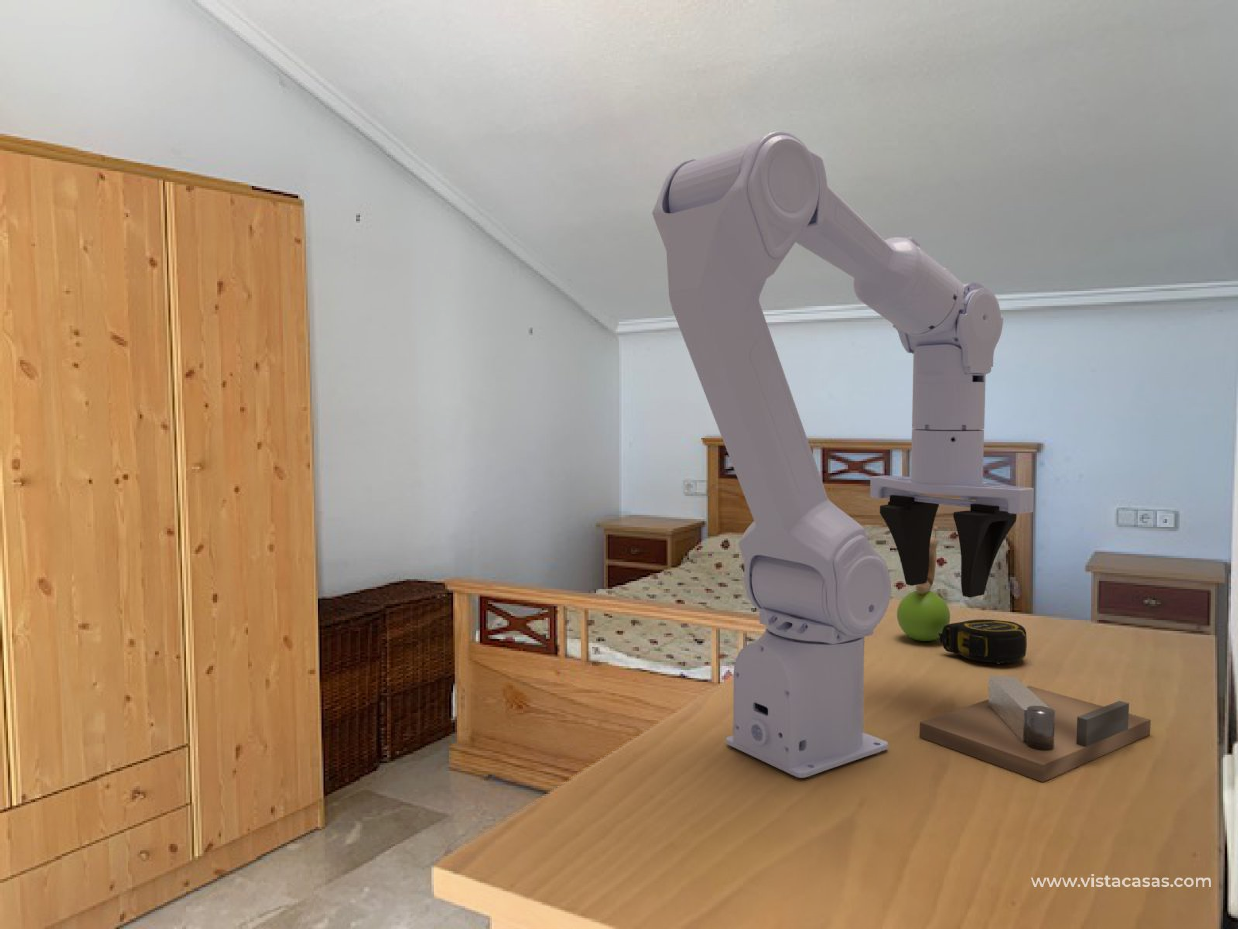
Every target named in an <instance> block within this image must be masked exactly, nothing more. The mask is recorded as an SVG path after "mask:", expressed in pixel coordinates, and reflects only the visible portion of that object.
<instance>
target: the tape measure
mask: <svg viewBox="0 0 1238 929" xmlns="http://www.w3.org/2000/svg"><path fill="white" fill-rule="evenodd" d="M1026 631H1027V630H1026V629H1025V627H1024V626H1022V625H1021V624H1019V623H1017V622H1014V621H1009V620H999V619H998V620H997V619H970V620H965V621H961V622H960V621H959V622H952V623H949V624H948V625H946V626H944V628H943V631H942V634H941V633H939V636H940V637H939V638H938V641H939V643H941V644H942V646H943V649H944V650H945V651H946V652H948V653H953V654H958V655H961V656H963V657H964V658H966V659H969V660H973V661H978V662H983V663H985V662H986V663H994V662H995V664H997V665H999V664H998V663H1002V664H1005V663H1004V662H1006V663H1011V662H1012V663H1014V662H1017V661H1020V660H1022V659H1024V658H1025V657H1026V654H1027V648H1028V642H1027V632H1026Z"/></svg>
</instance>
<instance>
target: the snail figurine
mask: <svg viewBox="0 0 1238 929" xmlns="http://www.w3.org/2000/svg"><path fill="white" fill-rule="evenodd" d="M938 530H939V528H938V526H933V528H932V531H934V534H935V535H934V536H931V539H930V549H929V572H928V578H927V582H926V583H924V584H918V585H915V591H911V592H909V593H908V594H906V595H905V596H904V597H903V598H902V599H901V601H900V602H899V604H898V606H897V609H896V618H897V622H898V625H899V627H900V629H901V631H903V633H904V634H906V636H908V637H910V639H913V640H916V641H920V642H930V641H934V640H937V639H939V638H940V636H939V633H941V634H942V631H943V628H944V626H946V625H948V624H951V623H950V621H951V613H950V609H949V606H948V604H947V603H946V601H945V600H944V599H943V598H942V597H941V596H940V595H939V594H937V593H935V592H933V591H930V590H931V589H932V586H933V584H934V580H935V574H936V573H935V572H936V566H937V547H938V540H937V532H938Z"/></svg>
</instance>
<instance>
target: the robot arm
mask: <svg viewBox="0 0 1238 929" xmlns="http://www.w3.org/2000/svg"><path fill="white" fill-rule="evenodd" d="M825 168H826V167H825V164H824V160H823V158H822V157H821V156H820V155H818V154H817V153H814V152H813V151H811V150H809V148H807V146H806V145H805V143H804V142H803V141H802V140H801V139H800V138H798V137H797V136H795V135H794V134H792V133H790V132H786V131H784V130H783V131H782V130H781V131H778V130H776V131H772V132H770V133H769V132H768V133H766V134H763V135H762V136H760V137H759V138H758V139H755V140H753V141H750V142H747V143H744V144H740V145H737V146H735V147H731V148H729V149H726V150H722V151H719V152H716V153H714V154H710V155H707V156H705V157H701V158H698V159H689V160H685V161H683V162H680V163H677V165H676V166H674V167H673V168H672V169H671V170H670V171H669V173H668V174H667V175H666V177H665V179H664V182H663V185H662V187H661V189H660V192H659V194H658V197H657V199H656V202H655V205H654V207H653V209H652V212H651V213H652V214H651V215H652V216H653V220H654V222H655V224H656V225H655V226H656V227H657V230H658V232H659V235H660V237H661V240H662V243H663V245H664V248H665V250H666V264H667V265H666V266H667V268H666V269H667V283H668V284H667V285H668V286H667V288H668V296H669V297H668V298H669V302H670V305H671V309H672V312H673V314H674V318H675V320H676V322H677V325H678V327H679V328H678V329H679V330H680V333H681V336H682V338H683V341H684V343H685V346H686V348H687V351H688V353H689V356H690V359H691V361H692V363H693V367H694V369H695V372H696V374H697V377H698V379H699V382H700V386H701V387H702V390H703V393H704V395H705V397H706V400H707V402H708V406H709V408H710V410H711V413H712V416H713V418H714V420H715V423H716V425H717V429H718V432H719V434H720V437H721V438H722V441H723V444H724V446H725V449H726V451H727V454H728V456H729V460H730V462H731V464H732V467H733V470H734V473H735V475H736V477H737V480H738V482H739V486H740V488H741V490H742V493H743V495H744V499H745V501H746V503H747V506H748V508H749V511H750V514H751V516H752V519H753V522H751V524H750V525H749V526H748V527H747V528H746V530H745V531H744V533H743V534H742V536H741V538H740V539H739V541H738V543H737V545H738V548H739V550H740V553H741V556H742V560H743V566H744V569H743V570H744V572H743V573H744V580H743V582H744V587H745V593H746V596H747V598H748V600H749V602H750V604H752V605H753V607H754V608H755V609H757V610H758V611H759V624H760V625H763V626H765V627H766V629H764V632H763V633H762V635H761V636H760V637H759V638H758V639H756V640H755V641H753V642H750V643H748V644H746V645H745V646H743V647H742V648H741V649H740V651H739V652H738V654H737V656H736V658H735V662H734V667H733V719H732V720H733V723H732V724H733V728H732V730H733V732H732V735H728V736H727V737H726V738H725V743H726V745H728V746H729V747H732V748H734V749H736V750H738V751H740V752H742V753H745V754H747V755H748V756H751V757H753V758H755V759H757V760H760V761H761V762H764V763H766V764H768V765H770V766H773V767H774V768H777V769H779V770H781V771H782V772H785V773H787V774H789V775H791V776H794V777H796V778H799V779H804V778H808V777H811V776H814V775H816V774H819V773H823V772H825V771H828V770H830V769H834V768H836V767H840V766H842V765H846V764H848V763H851V762H854V761H856V760H857V761H858V760H860V759H863V758H865V757H869V756H871V755H875V754H878V753H880V752H883V751H886V750H888V749H889V742H888V741H886V740H884V739H881V738H878V737H876V736H874V735H870V734H868V733H866V732H864V694H865V693H864V691H865V690H864V682H865V680H864V679H865V675H864V674H865V638H867V637H870V636H873V635H874V630H875V629H876V628H877V627H878V625H879V624H880V623H881V621H882V620H883V618H884V617H885V614H886V613H887V611H888V608H889V604H890V601H891V597H892V596H891V593H892V581H891V576H890V572H889V568H888V565H887V563H886V561H885V559H884V558H883V556H882V555H881V554H879V553H878V552H877V551H876V550H875V549H874V547H872V545H871V542H870V541H869V539H868V536H867V533H866V530H865V528H864V527H863V526H862V524H860V523H859V522H858V521H856V520H855V519H854V518H852V517H851V516H850V515H848V513H846V512H844V511H843V510H842V509H840V507H838V506H836V505H835V503H833V502H832V501H831V500H830V499H829V497H828V494H827V491H826V489H825V486H824V485H825V484H824V483H823V480H822V477H821V475H820V471H819V468H818V465H817V463H816V460H815V457H814V454H813V451H812V449H811V446H810V443H809V440H808V437H807V434H806V432H805V431H806V430H805V429H804V426H803V423H802V420H801V417H800V414H799V411H798V408H797V406H796V403H795V400H794V397H793V394H792V392H791V389H790V386H789V383H788V380H787V377H786V375H785V372H784V369H783V365H782V362H781V359H780V358H779V355H778V351H777V349H776V346H775V343H774V340H773V338H772V334H771V331H770V329H769V326H768V323H767V320H766V318H765V315H764V311H763V309H762V306H761V303H760V296H761V295H762V294H761V293H762V291H763V289H764V287H765V284H766V281H767V280H768V279H769V278H770V277H771V276H773V275H774V274H775V272H776V271H777V270H778V268H779V267H780V265H781V263H783V261H784V260H785V258H786V257H787V255H788V254H789V252H790V251H791V249H792V248H793V247H794V245H795V244H797V245H799V246H801V247H803V248H804V249H806V250H808V251H810V252H811V253H813V254H814V255H816V256H817V257H819V258H821V259H823V260H824V261H826V262H828V263H829V264H831V265H832V266H834V267H836V268H837V269H839V270H841V271H842V272H844V273H846V274H847V275H849V276H851V277H852V278H853V288H854V293H855V296H856V297H857V298H858V300H859V301H861V303H863V304H865V305H866V306H867V307H868V308H869V309H871V310H873V311H874V312H876V313H877V314H878V315H880V316H881V317H882V318H884V319H885V320H887V321H888V322H889V323H891V324H892V328H894V329H895V330H896V331H897V333H898V337H899V340H900V342H901V345H902V347H903V348H904V350H905V351H906V353H908V354H912V355H913V356H912V358H913V359H912V360H913V361H912V362H913V363H912V365H913V366H912V369H913V370H912V406H911V407H912V409H911V410H912V412H911V416H912V417H911V428H912V429H911V454H910V455H911V457H910V458H911V460H910V461H911V462H910V466H911V467H910V476H900V475H899V476H897V475H896V476H895V475H876V476H875V475H873V476H870V478H869V479H870V488H869V490H870V494H869V497H870V498H871V499H889V501H888V502H887V504H881V505H879V514H880V516H881V517H882V520H883V521H884V522H885V524H886V526H887V528H888V529H889V530H888V531H889V532H890V534H891V537H892V538H893V541H894V544H895V547H896V550H897V553H898V556H899V559H900V564H901V567H902V573H903V577H904V580H905V585H906V586H916V585H918V584H924V583H926V582H927V578H928V572H929V549H930V539H931V537H932V533H933V532H932V531H933V527H934V524H935V519H936V516H937V512H938V509H939V506H940V505H945V506H956V507H965V508H970V510H961V511H954V512H953V513H952V514H953V520H954V524H955V527H956V531H957V532H956V533H957V536H958V541H959V542H958V543H959V550H960V562H961V563H960V571H961V572H960V587H961V593H962V597H965V598H975V597H980V596H984V595H985V591H986V588H987V584H988V582H989V578H990V574H991V570H992V568H993V565H994V563H995V559H996V558H997V555H998V552H999V550H1000V548H1001V546H1002V544H1003V542H1004V541H1005V539H1006V537H1007V535H1008V533H1009V532H1010V531H1011V530H1012V528H1013V526H1014V525H1015V524H1016V522H1017V517H1018V516H1017V515H1023V514H1029V513H1030V514H1031V513H1033V512H1034V502H1035V501H1034V499H1035V498H1034V496H1035V493H1034V492H1035V489H1034V488H1035V487H1024V486H1015V485H1010V484H1001V483H994V482H987V481H984V480H983V479H984V450H985V449H984V445H985V413H986V412H985V410H986V409H985V408H986V381H987V380H986V376H987V375H988V374H990V373H991V372H992V367H994V353H995V349H996V347H997V344H998V342H999V341H1000V339H1001V335H1002V331H1003V326H1004V318H1003V317H1002V316H1001V307H1000V304H999V301H998V299H997V297H996V295H995V293H994V292H992V290H990V289H988V288H986V287H985V286H984V285H982V284H980V283H977V282H971V283H963V282H962V281H961V280H959V279H958V278H957V277H956V276H954V275H953V274H952V272H951V271H950V270H949V269H948V268H946V267H943V266H942V265H941V264H940V263H939V262H937V261H936V260H935V259H934V258H932V256H930V255H929V254H928V253H926V252H925V251H924V250H923V249H921V248H920V247H921V243H920V242H919V241H918V240H917V239H915V238H914V237H912V236H909V237H901V236H900V237H898V236H895V237H889V238H887V239H884V238H883V236H881V235H880V234H879V233H878V232H877V231H876V229H874V228H873V227H872V226H871V225H870V224H869V223H868V222H866V220H865V219H864V218H862V217H861V216H860V214H859V213H858V212H856V211H855V209H853V208H852V207H851V206H850V205H849V204H848V202H846V201H845V200H844V199H843V198H842V197H841V196H840V195H839V194H838V193H837V192H836V191H835V190H834V189H833V188H831V186H829V185H828V179H827V173H826V169H825ZM929 495H930V496H929ZM933 495H938V496H933ZM940 496H941V497H940ZM942 496H955V497H960V498H959V499H957V498H951V497H950V498H949V497H942Z"/></svg>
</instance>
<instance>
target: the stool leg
mask: <svg viewBox="0 0 1238 929" xmlns="http://www.w3.org/2000/svg"><path fill="white" fill-rule="evenodd" d="M988 677H989V678H988V679H989V680H988V699H989V706H990V707H991V708H992V709H993V710H994V711H995V712H996V713H997V714H998V716H999V717H1000V718H1001V719H1002V720H1003V721H1004V722H1005V723H1006V724H1007V725H1008V726H1009V727H1010V729H1011V730H1012V731H1013V732H1014V733H1015V734H1016V735H1017V736H1018V737H1019V738H1020V739H1021V740H1022V742H1026V744H1027V745H1028V746H1029V747H1031V748H1034V749H1038V750H1051V749H1053V748H1054V728H1055V711H1054V710H1053V709H1051V708H1049V707H1048V706H1047V705H1046V704H1045V703H1044V702H1043V701H1042V700H1040V699H1039V698H1038V697H1037V696H1036V695H1035V694H1034V693H1033V692H1032V691H1030V690H1029V689H1028V688H1027V687H1028V686H1026V685H1025V684H1024V683H1023V682H1021V680H1019V679H1018V678H1017V677H1016V676H1007V675H1004V676H1003V675H989V676H988Z"/></svg>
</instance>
